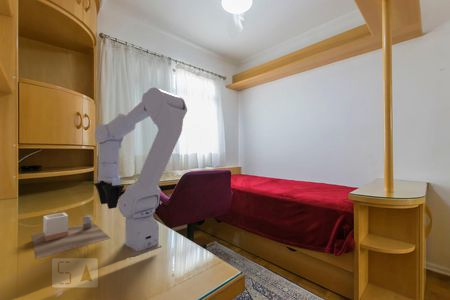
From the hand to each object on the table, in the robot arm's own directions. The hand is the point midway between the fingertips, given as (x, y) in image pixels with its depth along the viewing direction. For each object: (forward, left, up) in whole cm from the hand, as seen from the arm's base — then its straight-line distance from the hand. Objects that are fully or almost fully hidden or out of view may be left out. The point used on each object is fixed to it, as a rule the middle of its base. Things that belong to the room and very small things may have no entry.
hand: (108, 205), depth 64 cm
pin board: (+4, +9, -9) cm, 14 cm away
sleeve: (+8, +12, -8) cm, 17 cm away
